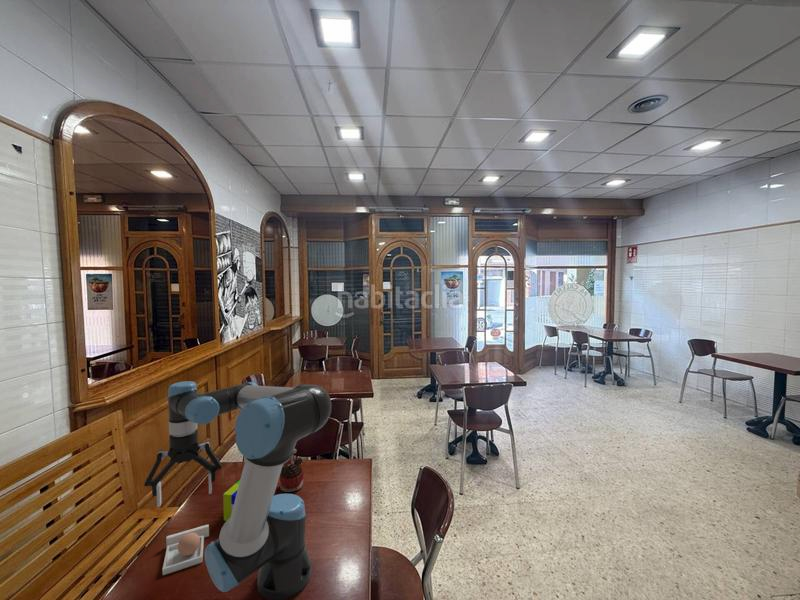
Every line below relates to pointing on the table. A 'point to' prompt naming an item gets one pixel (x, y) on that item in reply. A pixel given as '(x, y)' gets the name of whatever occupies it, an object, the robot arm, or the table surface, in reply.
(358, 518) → the table surface
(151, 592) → the table surface
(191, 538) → the ball
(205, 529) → the low wall
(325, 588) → the table surface
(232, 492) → the puzzle toy
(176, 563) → the light gray square tray
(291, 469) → the cake
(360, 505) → the table surface
